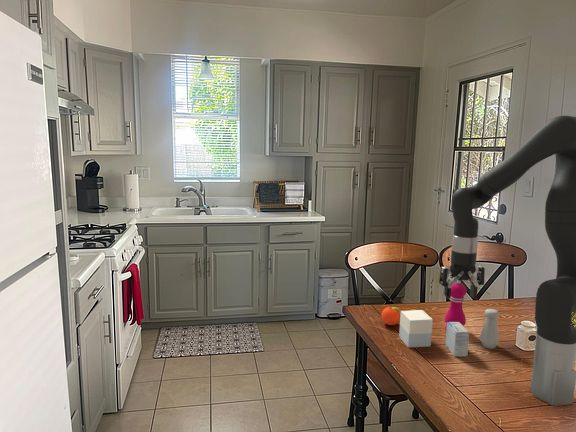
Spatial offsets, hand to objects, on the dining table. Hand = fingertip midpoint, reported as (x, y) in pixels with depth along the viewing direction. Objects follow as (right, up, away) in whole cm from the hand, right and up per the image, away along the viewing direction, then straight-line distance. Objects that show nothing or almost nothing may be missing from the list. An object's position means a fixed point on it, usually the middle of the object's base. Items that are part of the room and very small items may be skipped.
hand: (460, 297), depth 132 cm
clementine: (-16, -15, +23) cm, 32 cm away
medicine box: (0, -19, +3) cm, 19 cm away
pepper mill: (+5, -16, +18) cm, 25 cm away
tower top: (-12, -13, +9) cm, 20 cm away
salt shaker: (+13, -18, +7) cm, 23 cm away
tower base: (-12, -18, +10) cm, 23 cm away
